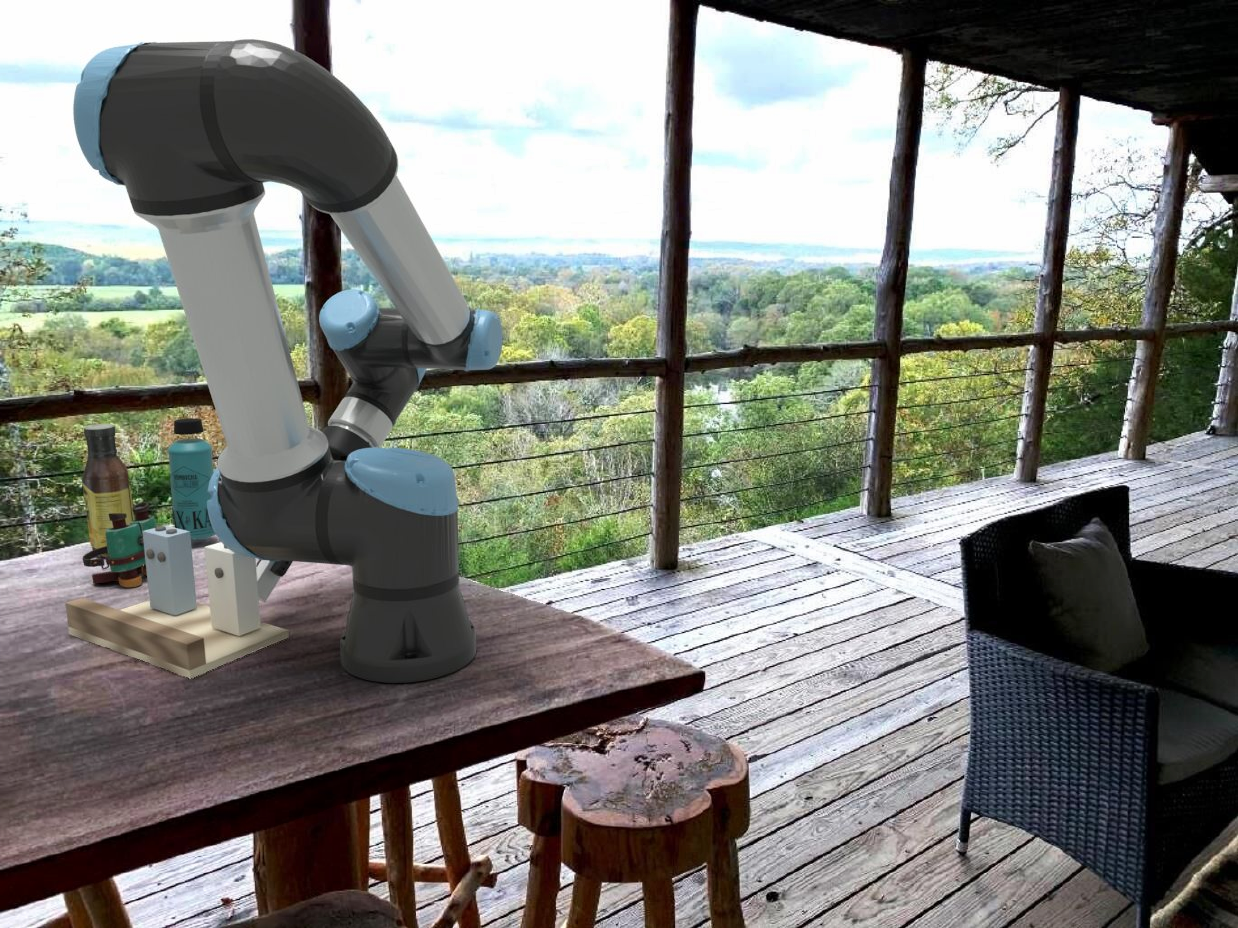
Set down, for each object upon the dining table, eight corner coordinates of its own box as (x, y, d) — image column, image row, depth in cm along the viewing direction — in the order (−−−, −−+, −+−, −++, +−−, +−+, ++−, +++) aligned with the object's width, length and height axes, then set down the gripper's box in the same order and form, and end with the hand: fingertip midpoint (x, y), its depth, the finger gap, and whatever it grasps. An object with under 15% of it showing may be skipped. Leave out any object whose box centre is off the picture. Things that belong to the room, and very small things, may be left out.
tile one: (260, 627, 108) (254, 544, 106) (237, 636, 106) (229, 552, 104) (233, 619, 111) (226, 538, 109) (209, 628, 108) (201, 545, 106)
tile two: (197, 607, 114) (189, 529, 112) (172, 616, 112) (164, 535, 109) (172, 600, 117) (164, 523, 115) (148, 608, 114) (139, 529, 112)
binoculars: (105, 501, 132) (165, 499, 129) (119, 571, 134) (178, 570, 131) (56, 517, 123) (119, 515, 121) (72, 592, 125) (134, 590, 123)
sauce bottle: (104, 547, 142) (89, 421, 138) (145, 546, 143) (132, 421, 138) (82, 560, 136) (66, 429, 132) (125, 559, 136) (111, 429, 132)
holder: (288, 638, 109) (286, 606, 108) (190, 679, 98) (187, 644, 97) (169, 601, 120) (166, 572, 119) (69, 634, 109) (65, 602, 108)
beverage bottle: (176, 539, 146) (164, 416, 142) (221, 535, 149) (210, 414, 145) (174, 551, 140) (161, 423, 136) (221, 546, 143) (210, 421, 139)
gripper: (402, 461, 121) (309, 620, 110) (333, 450, 127) (239, 599, 116) (371, 427, 115) (270, 591, 104) (300, 418, 121) (198, 571, 111)
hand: (254, 595), depth 110 cm, fingers closed
